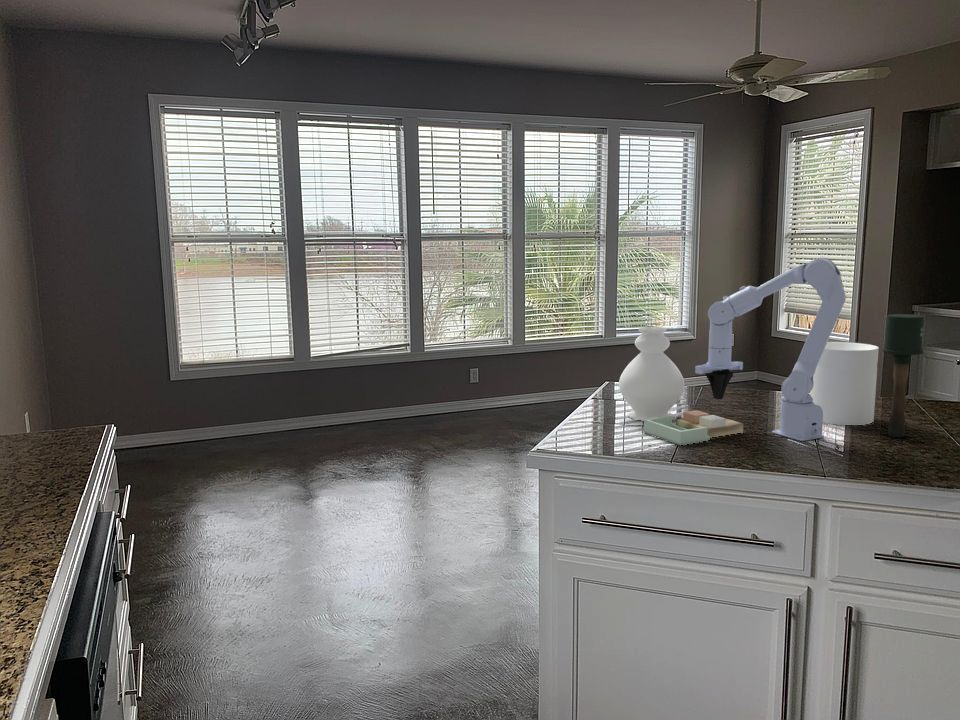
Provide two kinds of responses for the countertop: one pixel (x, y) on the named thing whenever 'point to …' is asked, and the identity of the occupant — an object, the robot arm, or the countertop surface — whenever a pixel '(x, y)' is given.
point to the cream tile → (712, 421)
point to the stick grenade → (901, 361)
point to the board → (728, 429)
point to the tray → (674, 431)
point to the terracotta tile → (693, 416)
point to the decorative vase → (651, 377)
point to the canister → (846, 383)
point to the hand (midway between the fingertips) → (718, 398)
